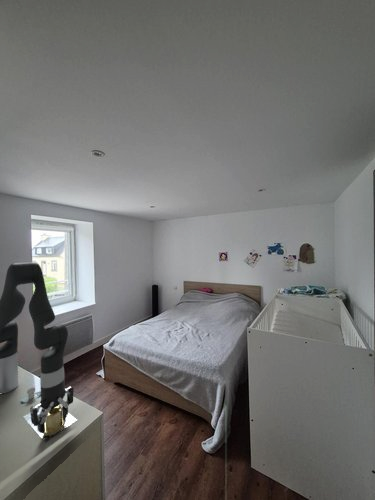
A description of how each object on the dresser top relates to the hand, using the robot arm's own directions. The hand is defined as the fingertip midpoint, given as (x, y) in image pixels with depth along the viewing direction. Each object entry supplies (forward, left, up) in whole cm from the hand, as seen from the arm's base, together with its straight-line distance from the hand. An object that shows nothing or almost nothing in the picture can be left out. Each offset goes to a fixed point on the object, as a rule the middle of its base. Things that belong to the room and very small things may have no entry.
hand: (54, 424), depth 75 cm
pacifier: (-29, +3, -4) cm, 29 cm away
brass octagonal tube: (0, 0, -1) cm, 1 cm away
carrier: (-7, +2, -3) cm, 8 cm away
